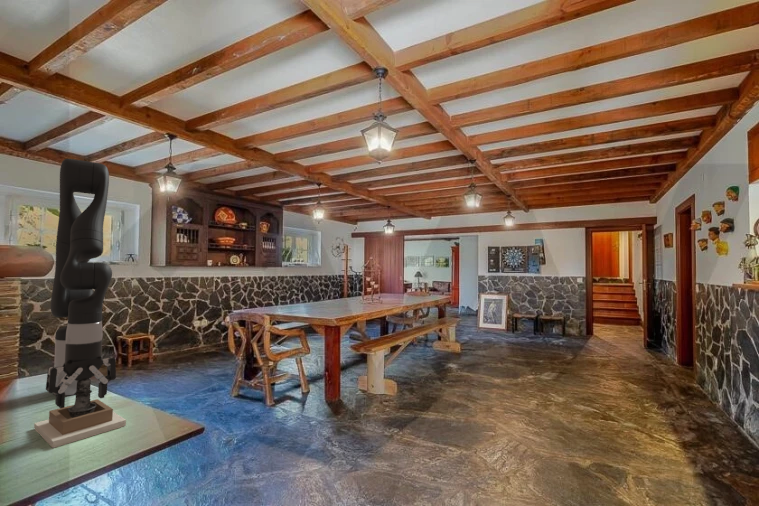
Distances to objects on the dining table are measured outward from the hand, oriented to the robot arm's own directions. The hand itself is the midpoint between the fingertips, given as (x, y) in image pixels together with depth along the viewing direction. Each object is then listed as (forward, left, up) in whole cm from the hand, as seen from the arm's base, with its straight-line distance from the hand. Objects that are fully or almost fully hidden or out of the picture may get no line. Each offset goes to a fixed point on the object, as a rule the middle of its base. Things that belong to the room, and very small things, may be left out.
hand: (81, 402), depth 98 cm
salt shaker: (0, 0, -5) cm, 5 cm away
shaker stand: (0, 0, -6) cm, 6 cm away
